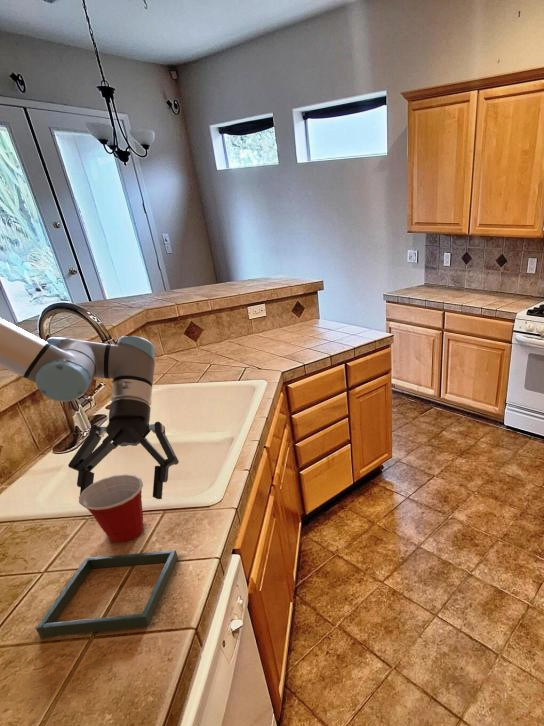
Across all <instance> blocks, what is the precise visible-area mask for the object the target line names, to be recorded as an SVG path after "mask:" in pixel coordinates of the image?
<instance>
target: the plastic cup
mask: <svg viewBox="0 0 544 726" xmlns="http://www.w3.org/2000/svg"><path fill="white" fill-rule="evenodd" d="M143 487H144V483H143V480H142V478H140V477H139V476H137V475H135V474H128V473H127V474H126V473H123V474H122V473H121V474H114V475H110V476H106V477H104V478H100V479H99V480H97V481H94V482H93V484H91V485H90V486H88V487H87V488H86V489H84V490H83V491H82V493H81V495H80V494H79V496H78V503H79V505H80V506H82V507H83V508H85V509H86V510H87V511H89V513H90V514H91V515H92V516H93V518H94V519H95V520H96V522H97V524H98V525H99V527H100V528H101V530H102V531H103V532H104V533H105V535H106V536H107V538H108V539H109V541H111V542H114V543H124V542H128V541H131V540H134V539H135V538H137V537H138V536H140V535H141V534H142V533H143V531H144V514H143V503H142V502H143V501H142V497H143V496H142V489H143Z"/></svg>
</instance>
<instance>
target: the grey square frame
mask: <svg viewBox="0 0 544 726" xmlns="http://www.w3.org/2000/svg"><path fill="white" fill-rule="evenodd" d="M178 560H179V556H178V553H177V550H176V549H175V550H174V549H173V550H165V551H164V550H162V551H151V552H149V551H148V552H139V553H138V552H137V553H126V554H116V555H115V554H114V555H102V556H92V557H86V558H85V559H84V560H83V561H82V563H81V564H80V566H79V567H78V568H77V570H76V572H75V573H74V574H73V576H72V577H71V579H70V580H69V581H68V582H67V584H66V585H65V587H64V589H63V590H62V591H61V592H60V594H59V595H58V597H57V598H56V599H55V601H54V602H53V604H52V605H51V607H50V608H49V609H48V610H47V612H46V613H45V615H44V616H43V618H42V619H41V620H40V622H39V624H38V625H36V628H35V630H36V631H37V634H38V635H39V637H40V638H50V637H51V638H52V637H60V636H68V635H77V634H78V635H79V634H88V633H98V632H106V631H115V630H125V629H126V630H127V629H134V628H143V627H150V624H151V621H152V619H153V617H154V615H155V613H156V610H157V608H158V606H159V603H160V601H161V600H162V599H161V598H162V596H163V594H164V593H165V590H166V588H167V585H168V583H169V581H170V578H171V576H172V574H173V572H174V569H175V567H176V565H177V563H178ZM163 563H165V564H164V566H163V568H162V570H161V572H160V574H159V576H158V579H157V581H156V583H155V585H154V587H153V589H152V591H151V594H150V596H149V598H148V599H147V602H146V604H145V607H144V608H143V611H142V613H135V614H127V615H126V614H124V615H117V616H105V617H98V618H96V617H95V618H87V619H77V620H76V619H75V620H69V621H59V622H58V620H59V619H60V617H61V616H62V615H63V613H64V612H65V610H66V609H67V607H68V606H69V604H70V602H71V601H72V600H73V598H74V597H75V595H76V594H77V592H78V591H79V589H80V588H81V586H82V584H83V583H84V582H85V580H86V578H87V577H88V576H89V574H90V573H91V572H92V570H93V569H105V568H116V567H118V568H119V567H126V566H129V567H130V566H139V565H152V564H163Z"/></svg>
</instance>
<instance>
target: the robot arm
mask: <svg viewBox="0 0 544 726" xmlns="http://www.w3.org/2000/svg"><path fill="white" fill-rule="evenodd" d="M155 359H156V349H155V346H154V344H153V343H152V342H151V341H150V340H148V339H146V338H144V337H142V336H137V335H130V336H127V335H123V336H121V337H120V338H118V340H117V342H116V343H115V344H113V343H112V344H110V343H109V344H108V343H102V342H95V341H88V340H82V339H81V340H80V339H75V338H71V337H56V336H53V337H49V338H47V339H46V341H45V340H44V339H41V338H40V337H37V336H36V335H34V334H32V333H30V332H28V331H26V330H24V329H22V328H21V327H18V326H16V325H15V324H13V323H11V322H8V321H7V320H5V319H4V318H3V319H2V318H1V317H0V368H2V369H5V370H7V371H10V372H12V373H14V374H16V375H18V376H20V377H22V378H24V379H26V380H29V381H31V382H33V383H34V384H35V385H36V388H37V389H38V390H39V392H40V393H41V394H42V395H43V396H45V397H46V398H48V399H50V400H52V401H56V402H60V403H61V402H62V403H64V402H65V403H66V402H73V401H76V400H78V399H79V398H80V397H82V396H83V395H84V394H85V393H86V392H88V390H89V389H90V388H91V386H92V382H93V380H94V378H98V379H107V380H112V386H111V387H112V388H111V397H110V401H111V402H110V403H109V412H108V424H107V425H106V426H98V425H97V424H91V426H90V429H89V433H88V435H87V436H86V438H85V439H84V440H83V443H82V444H81V445H80V447H79V448H78V450H77V451H76V453H75V454H74V455H73V457H72V459H71V460H70V461H69V463H68V464H67V467H68V468H69V469H71V470H74V471H77V472H78V473H77V482H76V486H77V487H78V488H80V490H79V496H80V495H81V493H82V491H83V490H84V489H86V488H87V487H88V486H90V485H91V484H93V483H94V479H95V472H93V469H94V468H96V467H97V465H99V463H100V462H102V461H103V459H105V458H106V457H107V456H108V455H109V454H110V453H111V452H112V451H113V450H115V449H117V448H118V447H128V446H132V447H136V446H138V445H141V446H142V447H143V448H144V449H145V450H146V451H147V453H148V454H150V456H151V457H152V458H153V459H154V460H155V461H156V462H157V464H158V465H154V473H153V485H152V498H154V499H156V500H163V488H164V483H167V482H168V480H169V470H170V468H171V466H174V465H178V464H179V463H180V462H179V461H180V460H179V459H178V457H177V455H176V453H175V451H174V449H173V446H172V445H171V443H170V441H169V439H168V437H167V435H166V427H165V425H164V424H162V423H161V422H160V421H156V422H154V423H151V424H150V421H151V408H152V407H151V406H152V398H153V386H154V385H153V384H154V376H155V375H154V373H155V366H156V365H155V362H156V360H155ZM151 431H152V433H153V434H154V435H155V436H156V438H157V441H158V442H159V445H160V446H161V448H162V450H163V452H164V454H165V456H166V458H165V457H164V456H163V455H162V454H161V453H160V452H159V451H158V450H157V449H156V448H155V447H154V446H153V444H152V442H151V441H149V440H148V438H146V437H147V436H148V435H149V434H150V432H151ZM105 434H107V436H106V437H105V438H104V436H105ZM102 438H104V439H103V440H102V443H100V441H101V439H102ZM99 443H100V444H99Z"/></svg>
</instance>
